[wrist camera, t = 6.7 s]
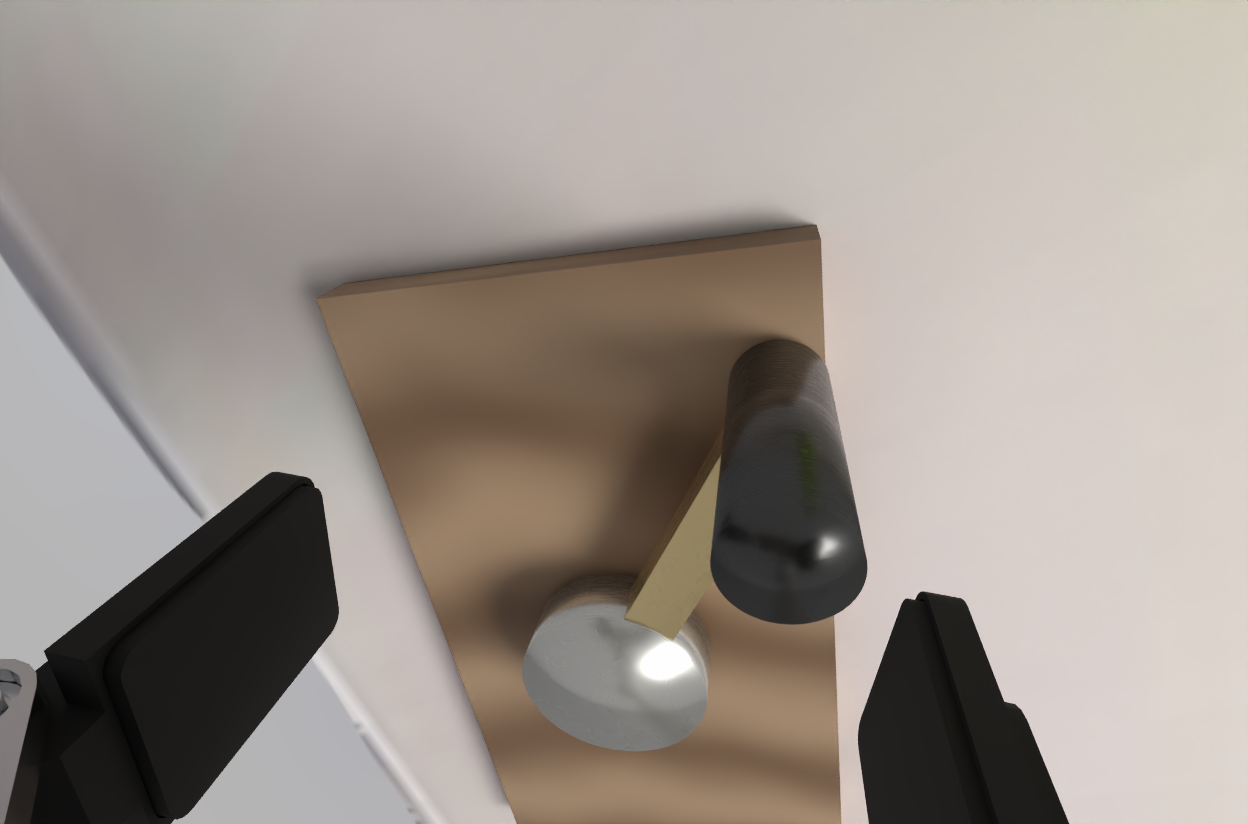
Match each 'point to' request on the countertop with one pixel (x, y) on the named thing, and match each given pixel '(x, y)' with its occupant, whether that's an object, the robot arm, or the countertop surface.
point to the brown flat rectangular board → (593, 500)
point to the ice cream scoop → (710, 564)
